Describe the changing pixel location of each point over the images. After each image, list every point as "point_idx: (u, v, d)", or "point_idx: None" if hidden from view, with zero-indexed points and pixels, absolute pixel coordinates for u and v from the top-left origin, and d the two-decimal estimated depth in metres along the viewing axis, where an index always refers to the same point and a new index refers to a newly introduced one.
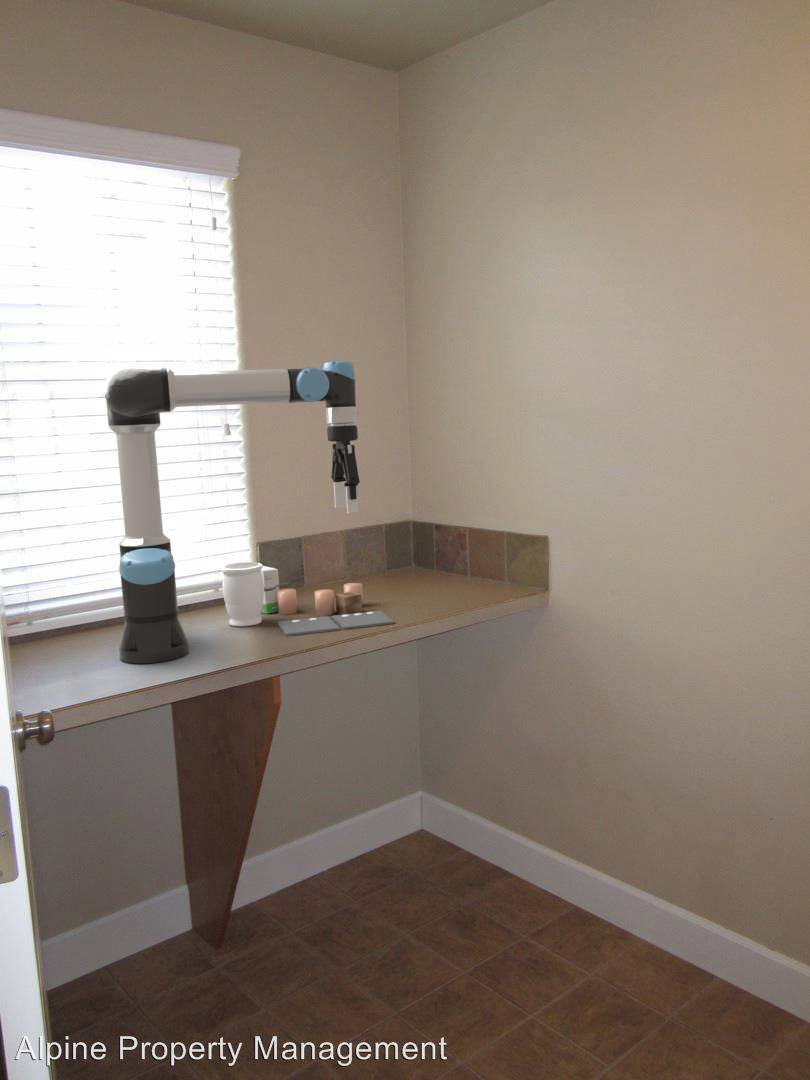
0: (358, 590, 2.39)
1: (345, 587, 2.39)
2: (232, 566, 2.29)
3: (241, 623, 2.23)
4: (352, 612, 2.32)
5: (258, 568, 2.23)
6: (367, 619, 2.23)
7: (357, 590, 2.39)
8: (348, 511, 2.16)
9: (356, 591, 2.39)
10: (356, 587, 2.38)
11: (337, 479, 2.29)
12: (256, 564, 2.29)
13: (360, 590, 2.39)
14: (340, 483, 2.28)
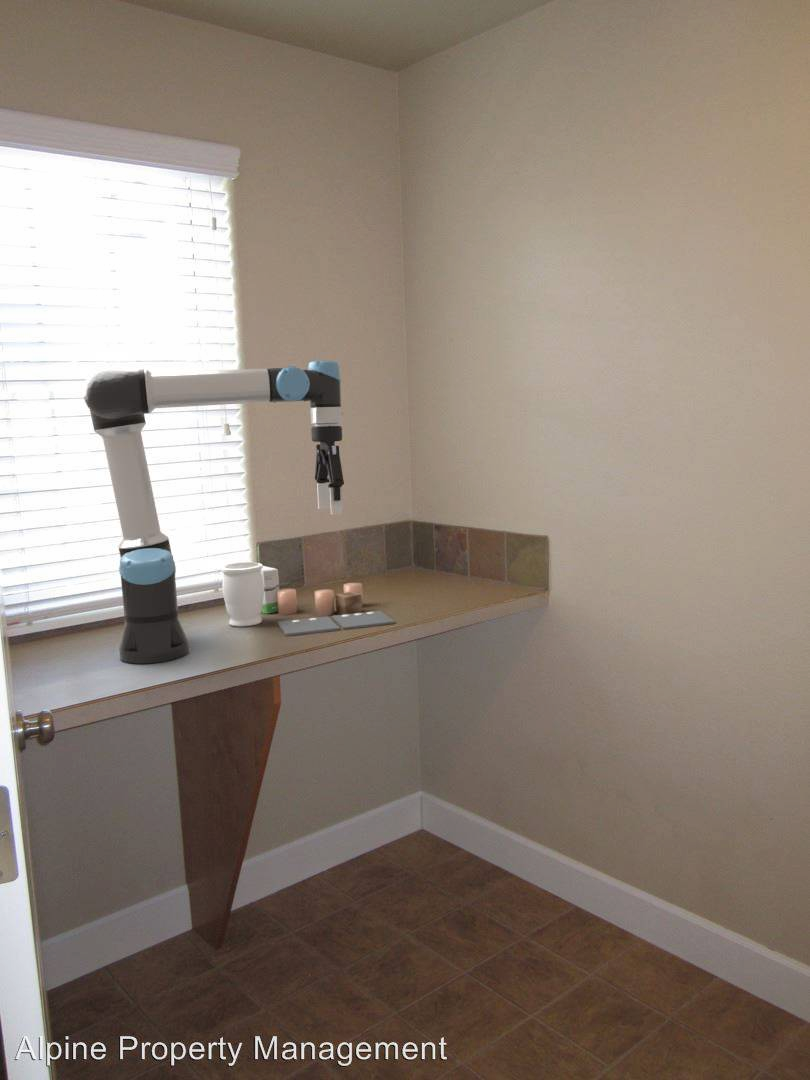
0: (358, 590, 2.39)
1: (345, 587, 2.39)
2: (232, 566, 2.29)
3: (241, 623, 2.23)
4: (352, 612, 2.32)
5: (258, 568, 2.23)
6: (367, 619, 2.23)
7: (357, 590, 2.39)
8: (332, 512, 2.13)
9: (356, 591, 2.39)
10: (356, 587, 2.38)
11: (321, 480, 2.26)
12: (256, 564, 2.29)
13: (360, 590, 2.39)
14: (324, 484, 2.26)
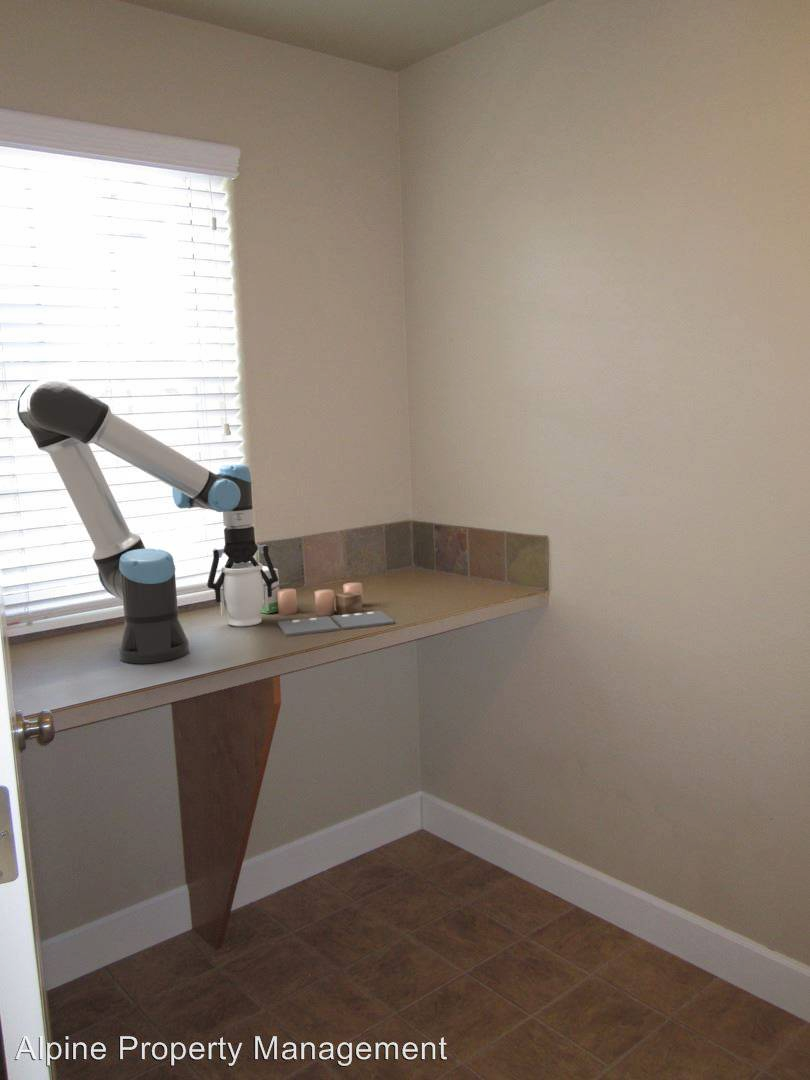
0: (358, 590, 2.39)
1: (345, 587, 2.39)
2: (232, 566, 2.29)
3: (241, 622, 2.23)
4: (352, 612, 2.32)
5: (258, 568, 2.23)
6: (367, 619, 2.23)
7: (357, 590, 2.39)
8: None
9: (357, 591, 2.38)
10: (356, 587, 2.38)
11: None
12: None
13: (360, 590, 2.39)
14: None
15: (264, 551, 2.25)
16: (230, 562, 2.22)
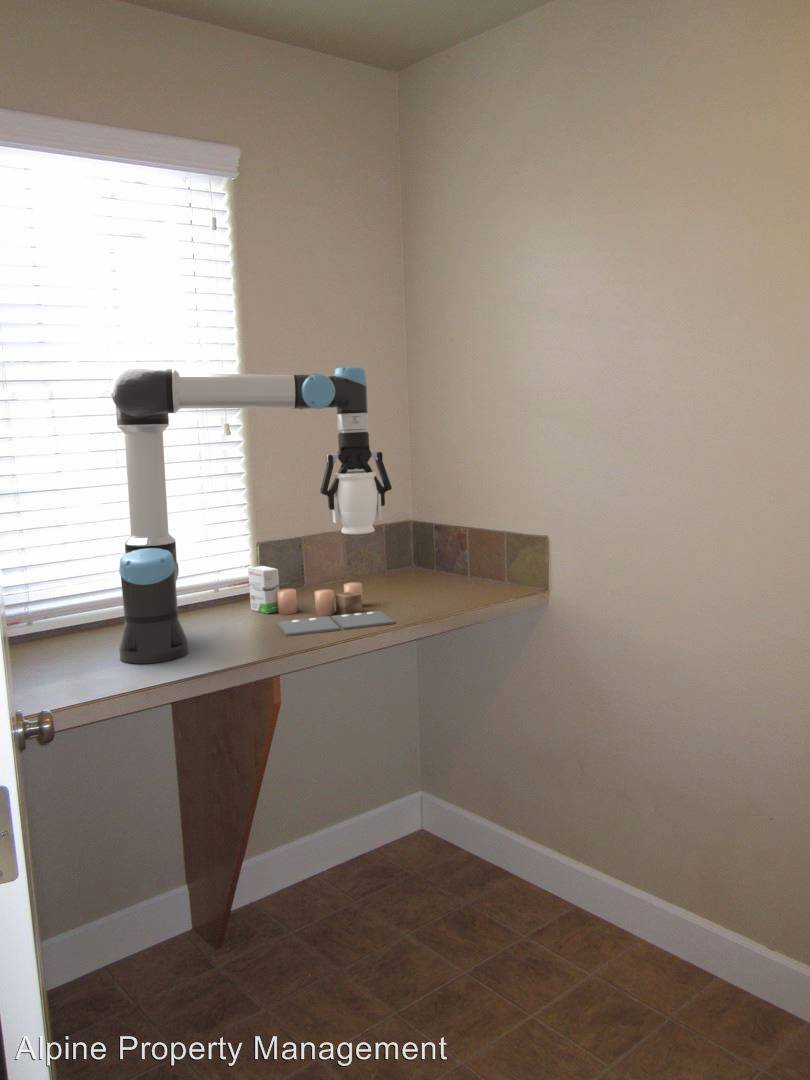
0: (360, 590, 2.39)
1: (346, 587, 2.38)
2: None
3: (356, 530, 2.17)
4: (352, 612, 2.32)
5: (373, 474, 2.17)
6: (367, 619, 2.23)
7: (359, 590, 2.39)
8: None
9: (358, 591, 2.39)
10: (358, 587, 2.38)
11: (378, 490, 2.21)
12: None
13: (361, 590, 2.40)
14: None
15: (378, 458, 2.19)
16: (345, 468, 2.16)
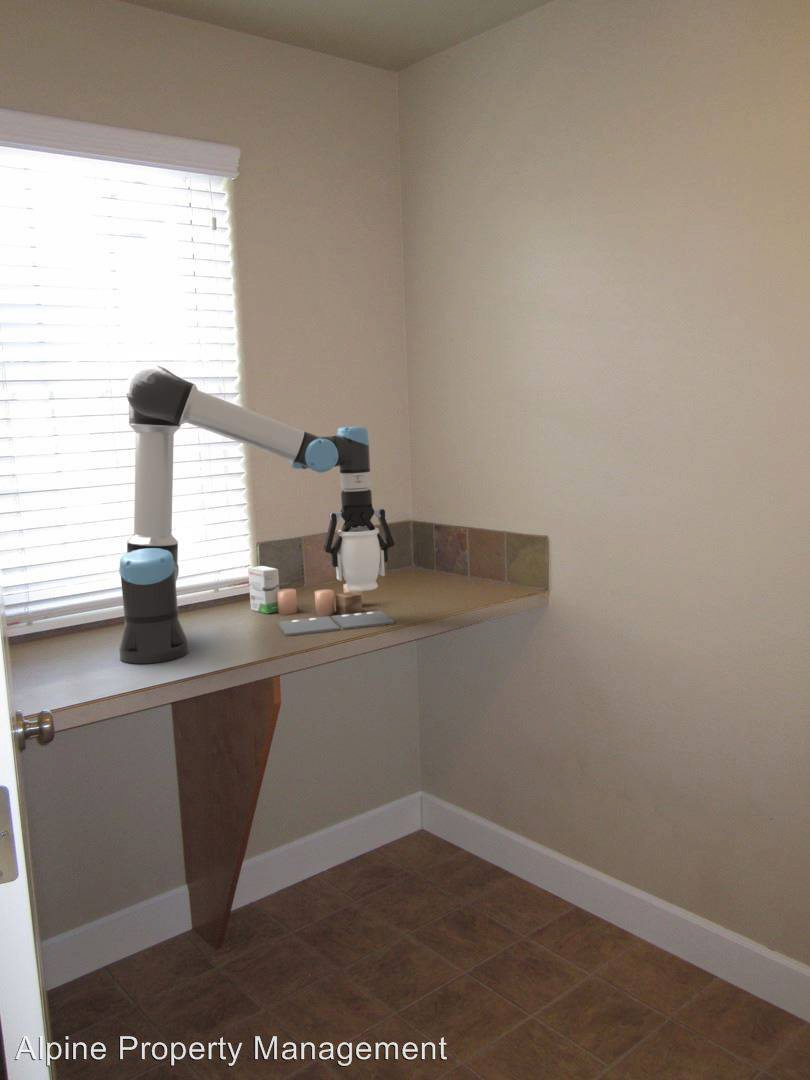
0: None
1: None
2: None
3: (359, 587, 2.19)
4: (352, 612, 2.32)
5: (376, 532, 2.19)
6: (367, 619, 2.23)
7: None
8: None
9: None
10: None
11: (381, 546, 2.23)
12: None
13: None
14: None
15: (381, 515, 2.21)
16: (348, 526, 2.18)
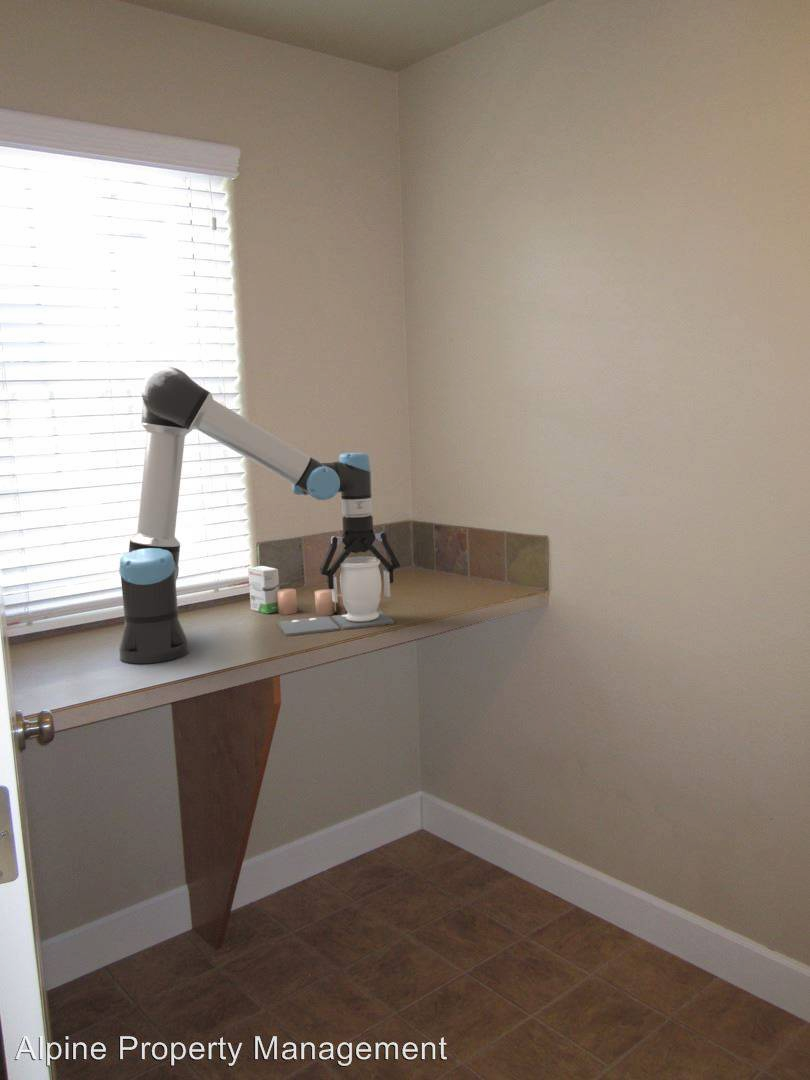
0: None
1: None
2: (348, 560, 2.25)
3: (360, 618, 2.20)
4: None
5: (377, 563, 2.19)
6: None
7: None
8: None
9: None
10: None
11: (387, 567, 2.25)
12: (372, 558, 2.25)
13: None
14: (385, 572, 2.24)
15: (382, 538, 2.22)
16: (348, 550, 2.19)
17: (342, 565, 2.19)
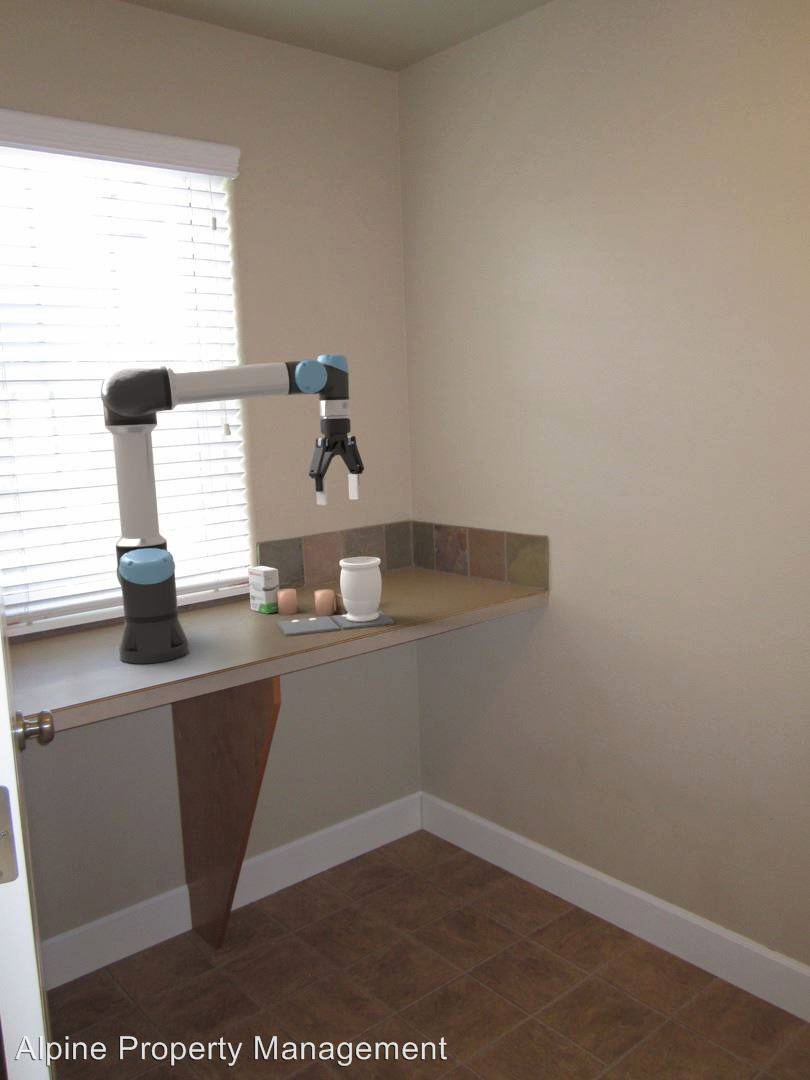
0: None
1: None
2: (348, 560, 2.25)
3: (360, 618, 2.20)
4: None
5: (378, 563, 2.19)
6: None
7: None
8: (317, 503, 2.20)
9: None
10: None
11: (353, 471, 2.31)
12: (372, 558, 2.25)
13: None
14: (353, 475, 2.30)
15: (353, 441, 2.28)
16: (334, 452, 2.20)
17: (342, 565, 2.19)
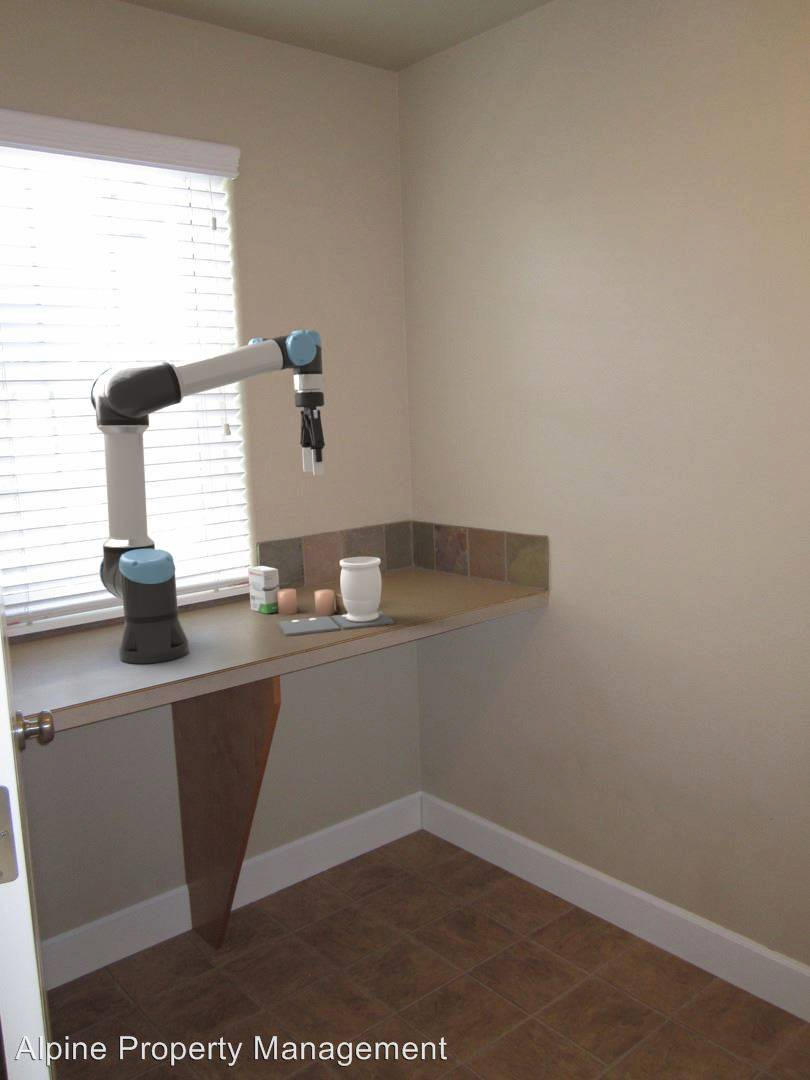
0: None
1: None
2: (348, 560, 2.25)
3: (360, 618, 2.20)
4: None
5: (378, 563, 2.19)
6: None
7: None
8: (314, 473, 2.26)
9: None
10: None
11: (305, 445, 2.39)
12: (372, 558, 2.25)
13: None
14: (308, 448, 2.39)
15: None
16: None
17: (342, 565, 2.19)
